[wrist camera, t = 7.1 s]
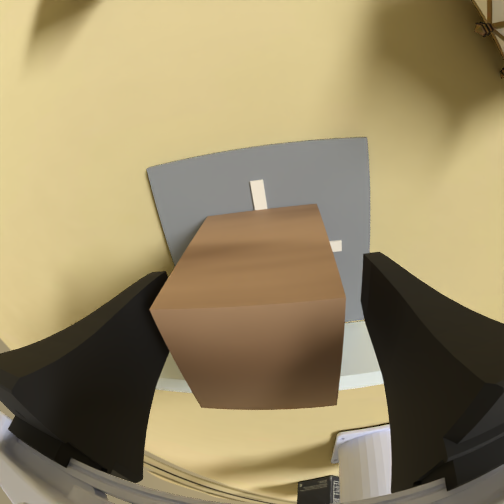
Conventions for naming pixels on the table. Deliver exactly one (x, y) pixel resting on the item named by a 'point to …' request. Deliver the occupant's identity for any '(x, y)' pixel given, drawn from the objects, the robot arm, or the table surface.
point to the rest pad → (275, 195)
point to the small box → (319, 491)
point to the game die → (492, 22)
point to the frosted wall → (352, 368)
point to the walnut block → (257, 311)
